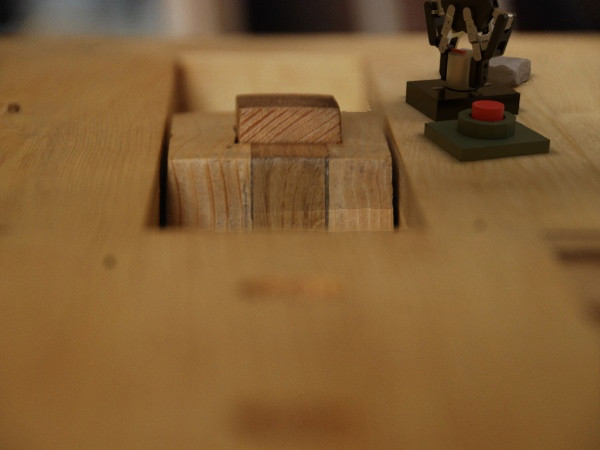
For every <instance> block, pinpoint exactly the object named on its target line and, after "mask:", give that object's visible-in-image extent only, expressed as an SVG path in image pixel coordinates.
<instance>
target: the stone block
mask: <svg viewBox="0 0 600 450" xmlns="http://www.w3.org/2000/svg"><path fill="white" fill-rule="evenodd" d="M459 49H460V50H471V51H473V50H472V48H464V47H461V48H459ZM531 73H532V60H530V59H528V58H525V57H515V56H504V55H502V56H499V57H494V58H491V59H490V61H489V69H488V78H491V79H493V80H495V81H497V82H499V83H501V84H503V85H505V86H507V87H509V88H511V89H515V87H519V86H520V84H522V83H524V82H526V81H527V80H528V79H530V77H531Z"/></svg>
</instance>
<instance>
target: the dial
mask: <svg viewBox="0 0 600 450" xmlns="http://www.w3.org/2000/svg"><path fill="white" fill-rule="evenodd" d="M460 49H461V48H457V49H456V48H453V49H452V51H450V52H449V53H448V63H447V76H446V87H447V88H450V89H453V90H460V91H470V90H476V89H474V88H471V87H470V78H471V67H472V61H473V60H475V59H474V57H473V51H471V50H472V49H471V50H460Z"/></svg>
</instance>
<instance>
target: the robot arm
mask: <svg viewBox="0 0 600 450" xmlns="http://www.w3.org/2000/svg"><path fill="white" fill-rule="evenodd" d="M423 10H424V16H425V24H426V32H427V39H428V44H429V45H430V47H434V48H437V49H438V52H439V56H440V57H439V66H438V67H439V68H438V74H439V76H440V79H441V80H443V81H446V76H447V63H448V53H449V52H450V51H452V49H453V48H456V49H458V46H459V43H460V41H461V38H462V37H463V36H464V34H466V35H467V39H468V43H469V44H470V45H471V50H473V57H474V59H475V60H473V61H472V67H471V78H470V87H471V88H474V89H478V88H482V87H483V86H484V84H486V82H487V79H488V69H489V61H490V59H491V58H494V57H499V56H504V55H505V52H506V49H507V46H508V44H509V41H510V39H511V35H512V33H513V29H514V27H515V24H516V22H517V19H518V15H517V13H516V12H515V11H509V12H508V11H506V10H504V9H503V8H500V3H499V0H426V1H425V2H424V3H423ZM492 26H493V27H492ZM480 33H481V35H480Z"/></svg>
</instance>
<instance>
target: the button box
mask: <svg viewBox="0 0 600 450" xmlns="http://www.w3.org/2000/svg"><path fill="white" fill-rule="evenodd" d="M471 113H472V109H467V110H464V111H461V112H459V115H458V120H449V121H438V122H435V121H427V122H424V127H423V136H424V137H426V139H428V140H430V141H431V142H433V143H434V144H435V145H436V146H438V147H439V148H441V149H442V150H444V151H445V152H447V153H448V154H449V155H450V156H451V157H454V158H455V159H456V160H458V161H459V162H461V163H466V162H477V161H485V160H494V159H503V158H513V157H522V156H523V157H524V156H532V155H542V154H549V153H550V146H551V139H550V138H548V137H546V136H544V135H543V134H541V133H539V132H538V131H535V130H533V129H532V128H530V127H528V126H526V125H525V124H523V123H521V122H519V121H517V115H513V114H511V113H509V112H507V111H504V113H503V120H501V121H492V122H491V121H480V120H476V119H472V118H471Z"/></svg>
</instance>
